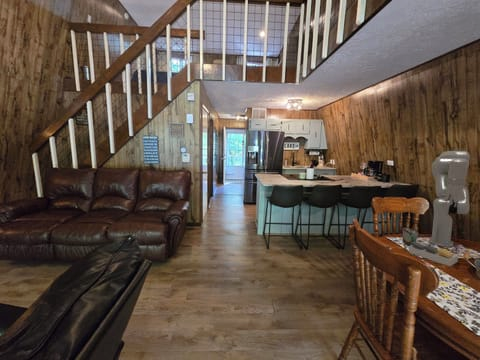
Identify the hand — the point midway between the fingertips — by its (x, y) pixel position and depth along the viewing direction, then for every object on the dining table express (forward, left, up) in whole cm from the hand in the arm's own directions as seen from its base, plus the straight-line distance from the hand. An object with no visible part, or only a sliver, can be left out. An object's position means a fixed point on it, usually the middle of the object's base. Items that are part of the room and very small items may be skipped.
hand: (452, 213), depth 128 cm
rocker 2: (+8, -6, -23) cm, 25 cm away
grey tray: (+5, -6, -28) cm, 29 cm away
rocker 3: (+8, 0, -23) cm, 25 cm away
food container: (-5, -21, -28) cm, 35 cm away
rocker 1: (+8, -12, -23) cm, 28 cm away
